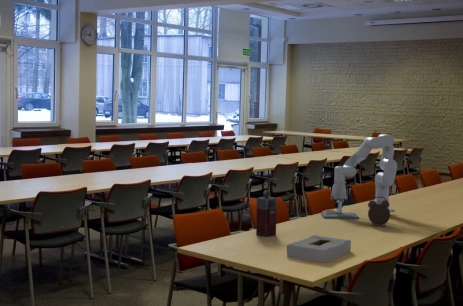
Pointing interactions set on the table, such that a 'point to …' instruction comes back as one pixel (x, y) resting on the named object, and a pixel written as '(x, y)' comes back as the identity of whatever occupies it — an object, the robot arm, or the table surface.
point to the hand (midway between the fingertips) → (338, 207)
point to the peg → (338, 210)
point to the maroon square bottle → (266, 215)
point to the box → (319, 248)
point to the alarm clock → (378, 212)
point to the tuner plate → (340, 215)
